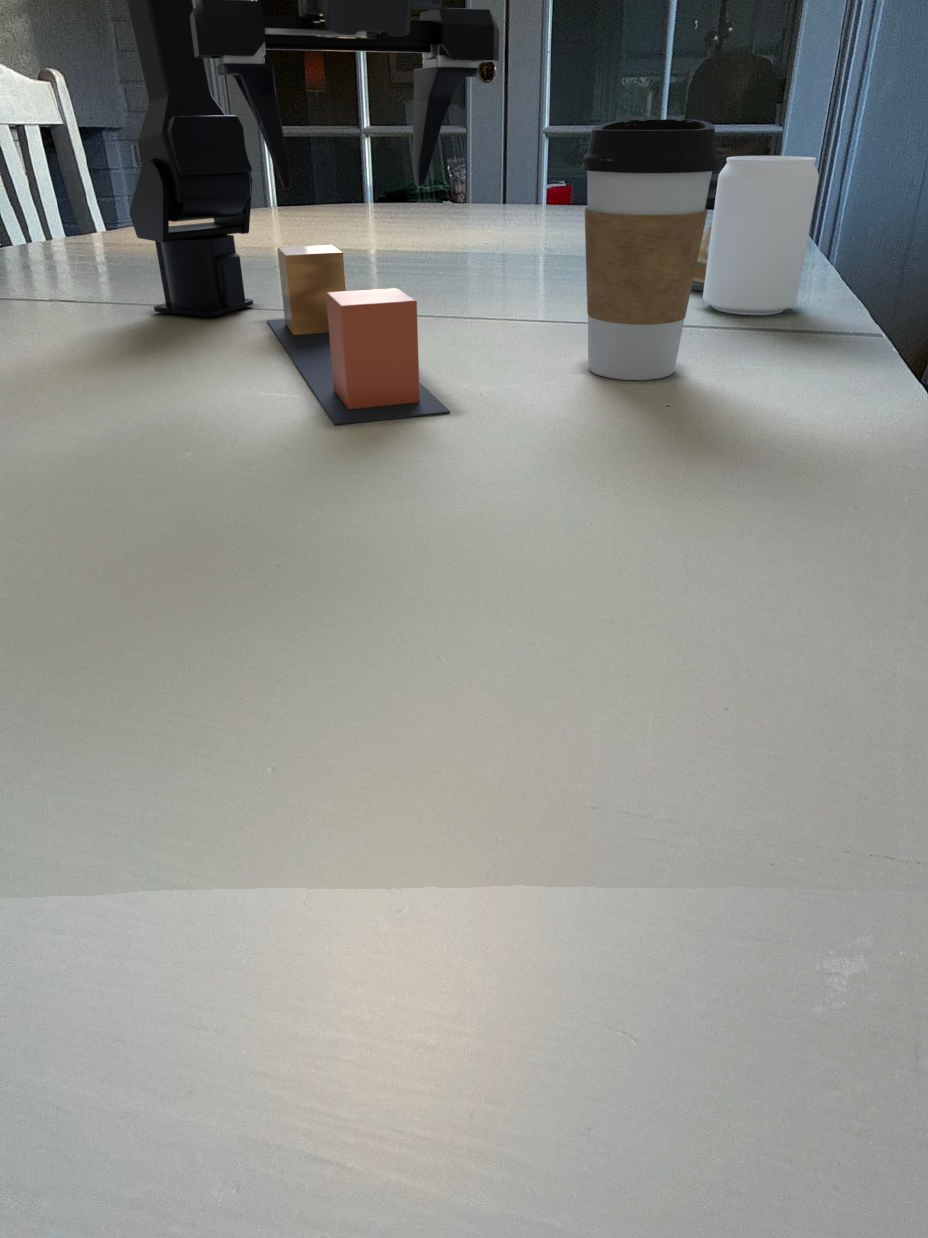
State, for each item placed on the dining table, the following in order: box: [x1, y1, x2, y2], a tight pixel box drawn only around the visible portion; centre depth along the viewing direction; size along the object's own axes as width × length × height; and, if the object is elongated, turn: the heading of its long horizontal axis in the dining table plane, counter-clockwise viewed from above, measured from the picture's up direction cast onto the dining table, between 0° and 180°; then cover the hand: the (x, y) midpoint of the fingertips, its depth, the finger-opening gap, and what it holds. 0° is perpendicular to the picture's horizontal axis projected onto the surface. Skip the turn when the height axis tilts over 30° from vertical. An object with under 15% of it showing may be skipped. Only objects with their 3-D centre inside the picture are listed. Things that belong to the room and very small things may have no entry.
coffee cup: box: [581, 118, 720, 381], centre depth 56 cm, size 8×8×15 cm
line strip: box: [266, 318, 451, 426], centre depth 63 cm, size 30×7×1 cm, turn 18°
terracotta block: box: [326, 287, 420, 410], centre depth 53 cm, size 4×4×6 cm
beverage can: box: [702, 155, 820, 316], centre depth 75 cm, size 8×8×12 cm
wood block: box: [276, 244, 347, 335], centre depth 70 cm, size 4×4×6 cm
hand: (354, 187), depth 59 cm, fingers open, 9 cm apart
